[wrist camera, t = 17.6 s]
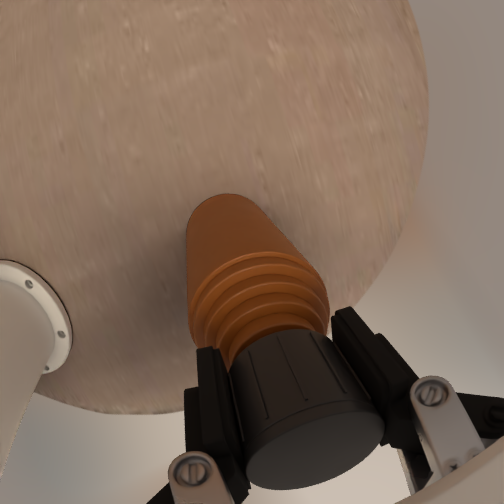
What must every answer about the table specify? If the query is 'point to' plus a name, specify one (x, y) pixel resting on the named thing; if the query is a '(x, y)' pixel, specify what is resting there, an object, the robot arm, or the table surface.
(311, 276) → the sauce bottle
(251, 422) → the cap
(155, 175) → the table surface
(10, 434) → the robot arm
